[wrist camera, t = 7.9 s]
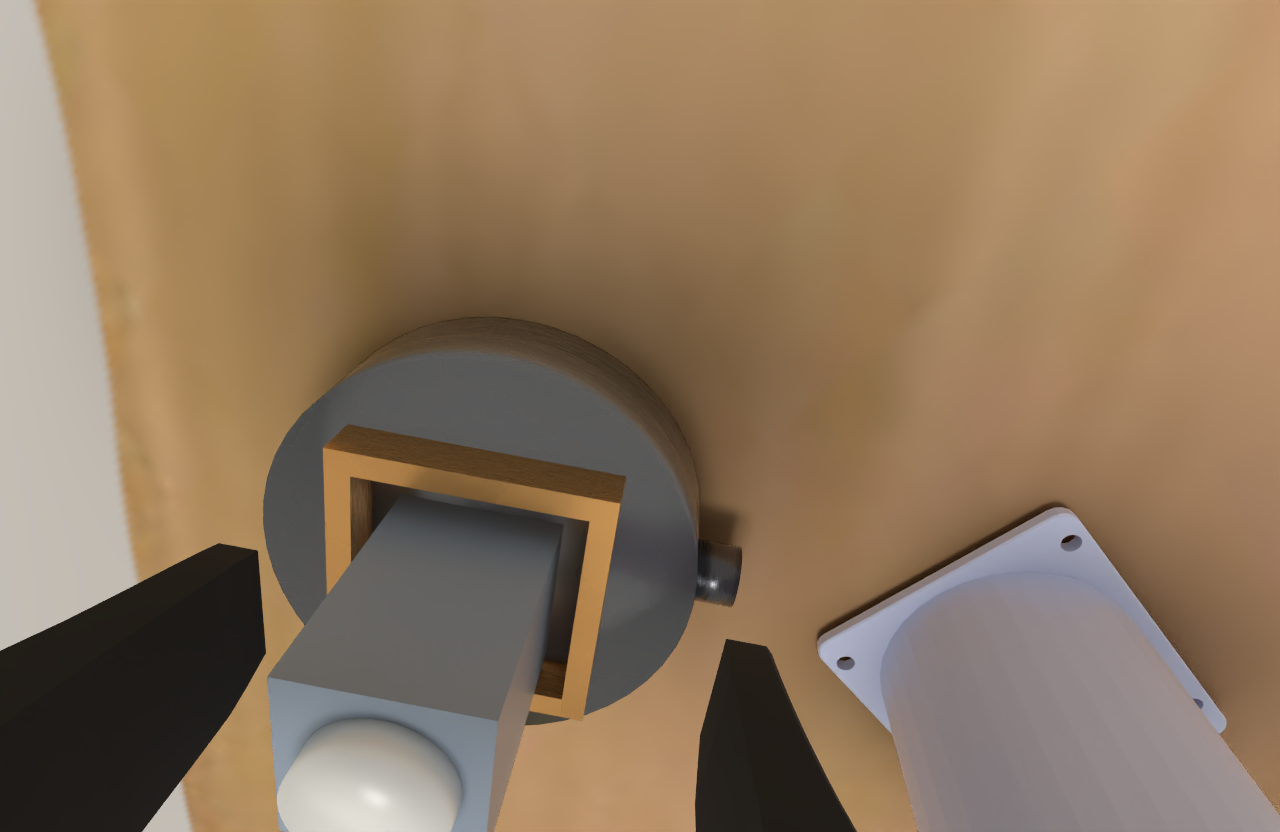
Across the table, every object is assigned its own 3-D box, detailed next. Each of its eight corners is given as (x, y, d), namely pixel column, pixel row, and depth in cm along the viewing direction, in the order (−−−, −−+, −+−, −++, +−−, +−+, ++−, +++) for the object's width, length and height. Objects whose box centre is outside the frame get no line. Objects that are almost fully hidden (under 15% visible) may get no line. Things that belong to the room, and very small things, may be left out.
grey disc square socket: (780, 367, 19) (796, 443, 15) (697, 685, 24) (694, 803, 20) (314, 282, 19) (215, 335, 15) (324, 614, 24) (251, 717, 20)
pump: (563, 524, 18) (484, 760, 12) (542, 683, 20) (466, 951, 14) (401, 494, 18) (240, 713, 12) (397, 656, 20) (260, 909, 14)
